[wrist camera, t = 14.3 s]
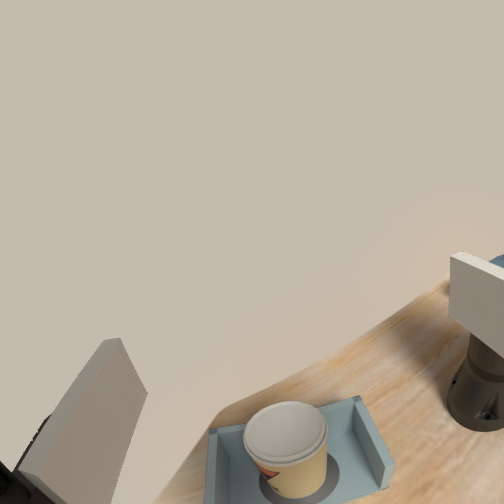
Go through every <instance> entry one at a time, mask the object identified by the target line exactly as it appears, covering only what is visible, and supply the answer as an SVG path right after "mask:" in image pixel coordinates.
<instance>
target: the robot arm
mask: <svg viewBox="0 0 504 504" xmlns="http://www.w3.org/2000/svg"><path fill="white" fill-rule="evenodd" d="M448 316H449V317H451V318H452V319H453V320H455V321H456V322H457V323H459V324H460V325H461V326H463V327H464V328H465V329H467V330H468V331H469V332H471V336H470V342H469V347H468V352H467V356H466V358H465V360H464V361H463V363H462V365H461V366H460V368H459V370H458V371H457V373H456V374H455V376H454V378H453V380H452V382H451V385H450V389H449V393H448V407H449V410H450V412H451V414H452V416H453V417H454V418H455V419H456V420H457V421H458V422H459V423H460V424H461V425H463V426H465V427H467V428H469V429H471V430H475V431H481V432H490V431H495V430H499V429H502V428H504V254H503V255H500V256H498V257H496V258H494V259H492V260H490V261H489V262H487V261H485V260H482V259H480V258H478V257H475V256H473V255H470V254H468V253H465V252H460V253H457V254H454V255H451V256H450V294H449V311H448ZM147 394H148V393H147V392H146V389H145V388H144V386H143V384H142V382H141V380H140V378H139V376H138V375H137V372H136V370H135V369H134V366H133V365H132V362H131V360H130V358H129V356H128V354H127V352H126V350H125V348H124V346H123V344H122V341H121V339H120V338H115V339H109V340H104V341H103V342H102V343H101V345H100V346H99V347H98V349H97V350H96V352H95V353H94V354H93V356H92V357H91V358H90V360H89V361H88V362H87V364H86V365H85V367H84V368H83V369H82V371H81V372H80V374H79V375H78V377H77V378H76V379H75V381H74V382H73V384H72V385H71V386H70V388H69V389H68V391H67V392H66V394H65V395H64V397H63V398H62V400H61V401H60V403H59V404H58V406H57V407H56V409H55V410H54V412H53V413H52V414H51V415H49V416H48V417H47V418H46V419H45V420H44V422H43V423H42V425H41V426H40V428H39V429H38V433H36V434H35V436H34V437H33V441H31V442H30V444H29V445H28V447H27V448H26V450H25V452H24V453H23V455H22V457H21V458H20V460H19V462H18V463H17V465H16V467H15V469H14V470H13V472H12V473H11V472H10V471H9V470H8V469H7V468H6V467H5V465H4V464H3V463H2V462H1V461H0V504H110V503H111V500H112V497H113V494H114V490H115V487H116V484H117V481H118V477H119V474H120V471H121V468H122V465H123V462H124V459H125V456H126V453H127V450H128V447H129V444H130V441H131V438H132V435H133V432H134V430H135V427H136V424H137V421H138V418H139V415H140V413H141V410H142V407H143V404H144V402H145V399H146V396H147Z"/></svg>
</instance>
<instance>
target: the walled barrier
mask: <svg viewBox="0 0 504 504" xmlns="http://www.w3.org/2000/svg"><path fill="white" fill-rule="evenodd" d="M317 409H318V410H319V411H320V412H321V413H322V414H323V415H324V417H325V418H326V421H327V423H328V436H327V471H326V478H325V481H324V483H323V485H322V486H321V487H320V488H319V489H318V490H317V491H316V492H314V493H313V494H311V495H309V496H306V497H303V498H296V499H292V498H286V497H282V496H280V495H278V494H277V493H276V492H275V491H274V490H273V489H272V488H271V487H270V485H269V484H268V482H267V481H266V479H265V478H264V476H263V475H262V473H261V471H260V470H259V468H258V467H257V465H256V464H255V462H254V460H253V458H252V457H251V456H250V455H249V453H248V452H247V450H246V449H245V446H244V442H243V435H244V431H245V428H246V425H247V423H246V424H240V425H233V426H226V427H219V428H211V429H210V430H209V442H208V455H207V468H206V483H205V498H204V504H343V503H346V502H350V501H353V500H356V499H359V498H362V497H365V496H368V495H370V494H373V493H376V492H378V491H381V490H384V489H386V488H388V487H389V484H390V481H391V477H392V473H393V470H394V466H395V462H394V460H393V458H392V456H391V454H390V452H389V450H388V448H387V446H386V445H385V443H384V441H383V439H382V437H381V435H380V433H379V431H378V429H377V427H376V425H375V423H374V421H373V420H372V418H371V416H370V414H369V412H368V410H367V408H366V406H365V404H364V403H363V401H362V399H361V397H360V395H358V396H355V397H352V398H348V399H345V400H342V401H339V402H336V403H332V404H329V405H325V406H322V407H318V408H317Z"/></svg>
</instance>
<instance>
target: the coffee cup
mask: <svg viewBox="0 0 504 504" xmlns="http://www.w3.org/2000/svg"><path fill="white" fill-rule="evenodd" d="M327 436H328V423H327V421H326V418H325V417H324V415H323V414H322V413H321V412H320V411H319V410H318V409H317V408H315V407H314V406H312V405H310V404H307V403H304V402H299V401H285V402H279V403H275V404H272V405H269V406H267V407H265V408H263V409H262V410H260V411H258V412H257V413H256V414H255V415H254V416H253V417H252V418H251V419H250V420H249V422H248V423H247V425H246V428H245V431H244V435H243V442H244V446H245V449H246V450H247V452H248V453H249V455H250V456H251V457H252V458H253V460H254V462H255V464H256V465H257V467H258V468H259V470H260V471H261V473H262V475H263V476H264V478H265V479H266V481H267V482H268V484H269V485H270V487H271V488H272V489H273V490H274V491H275V492H276V493H277V494H278V495H280V496H282V497H286V498H292V499H296V498H303V497H306V496H309V495H311V494H313V493H314V492H316V491H317V490H318V489H319V488H320V487H321V486H322V485H323V483H324V481H325V478H326V471H327Z"/></svg>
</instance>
